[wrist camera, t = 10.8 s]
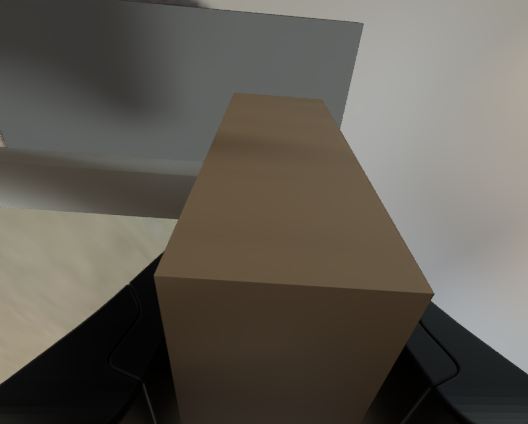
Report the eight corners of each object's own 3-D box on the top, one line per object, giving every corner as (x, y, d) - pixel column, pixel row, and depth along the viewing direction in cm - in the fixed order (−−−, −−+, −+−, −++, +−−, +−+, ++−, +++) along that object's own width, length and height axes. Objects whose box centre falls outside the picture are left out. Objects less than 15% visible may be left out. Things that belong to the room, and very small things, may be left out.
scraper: (293, 266, 12) (314, 501, 6) (-54, 243, 12) (-367, 470, 6) (325, 80, 8) (459, 251, 2) (-191, 38, 8) (-1486, 120, 2)
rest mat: (319, 199, 20) (322, 208, 19) (36, 183, 19) (26, 192, 18) (357, 22, 14) (363, 23, 13) (-43, -15, 13) (-63, -17, 12)
